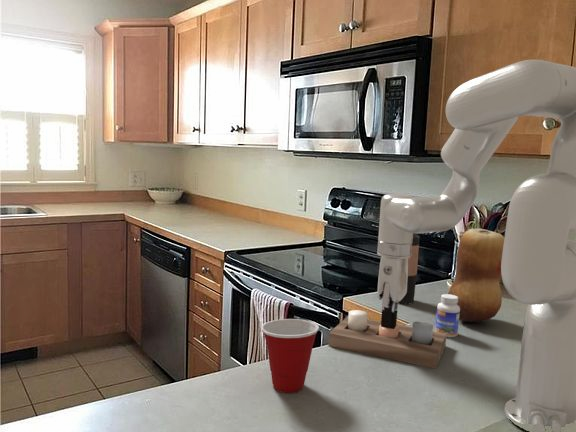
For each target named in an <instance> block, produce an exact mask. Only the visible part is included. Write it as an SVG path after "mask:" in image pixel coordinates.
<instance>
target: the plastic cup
mask: <svg viewBox="0 0 576 432" xmlns="http://www.w3.org/2000/svg"><path fill="white" fill-rule="evenodd" d="M260 327H261V332H262V333H263V335H264V339H265V344H266V345H267V348H266V349H267V354H268V361H269V370H270V373H271V374H270V375H271V382H272V387H273V388H274V390H276V391H278V392H280V393H284V394H294V393H298V392H301V390H303V388H304V386H305V381H306V377H307V374H308V369H309V365H310V361H311V357H312V356H311V355H312V352H313V346H314V344H315V339H316V337H317V336H316V335H317V334H318V333H317V332H318V331H320V327H319V325H318V323H315V322H313V321H311V320H307V319H298V318H297V319H296V318H284V319H283V318H282V319H273V320H271V321H267V322H264V323H263V324H262V325H261V326H260Z"/></svg>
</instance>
